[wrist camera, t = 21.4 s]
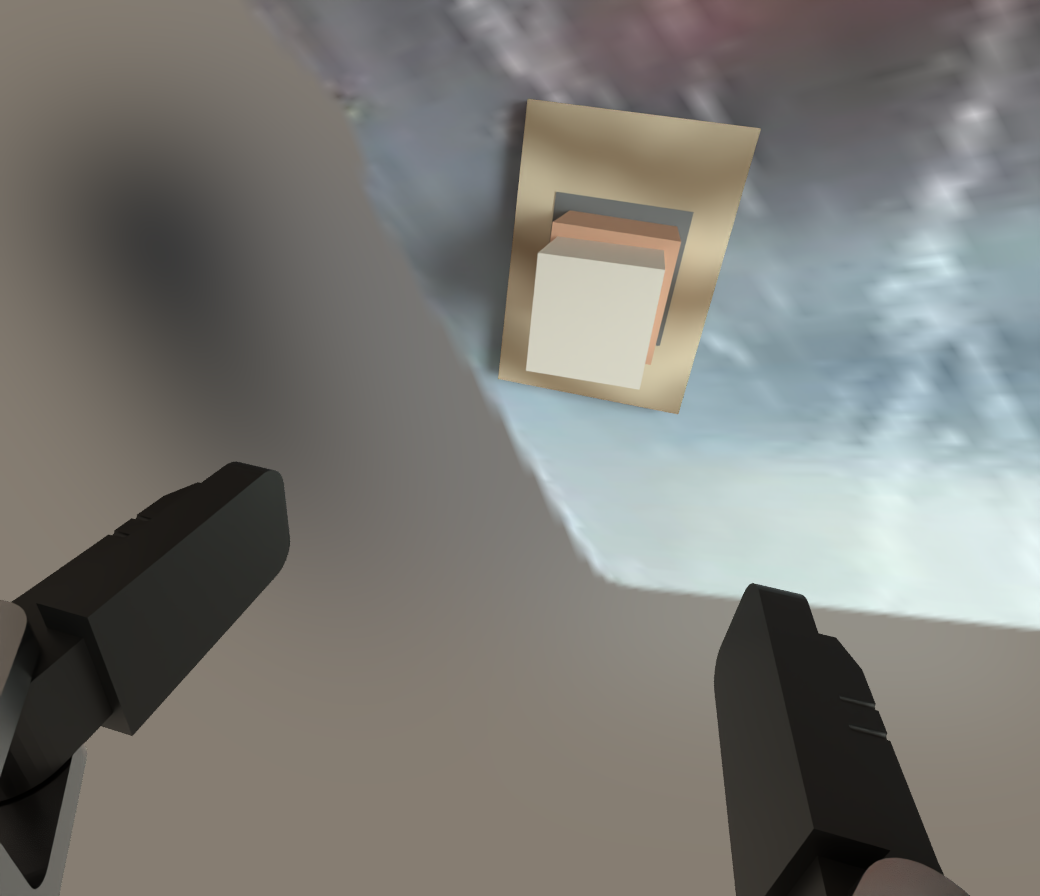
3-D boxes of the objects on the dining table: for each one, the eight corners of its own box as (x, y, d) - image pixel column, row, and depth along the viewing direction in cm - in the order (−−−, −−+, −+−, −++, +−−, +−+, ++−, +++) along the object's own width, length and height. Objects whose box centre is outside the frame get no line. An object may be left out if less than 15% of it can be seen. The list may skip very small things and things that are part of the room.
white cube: (557, 236, 26) (537, 252, 22) (663, 250, 25) (664, 269, 21) (545, 337, 29) (525, 370, 24) (642, 353, 28) (639, 389, 24)
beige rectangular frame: (533, 101, 30) (527, 98, 29) (756, 129, 29) (761, 128, 27) (503, 371, 38) (497, 379, 37) (677, 405, 37) (678, 414, 35)
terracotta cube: (570, 210, 31) (552, 221, 26) (677, 226, 30) (681, 241, 25) (554, 314, 34) (536, 343, 29) (651, 332, 33) (650, 364, 28)
